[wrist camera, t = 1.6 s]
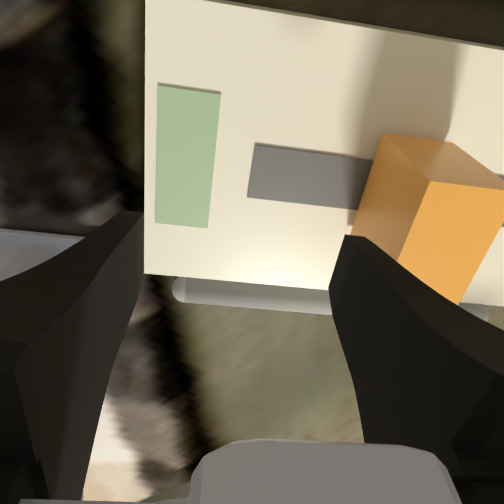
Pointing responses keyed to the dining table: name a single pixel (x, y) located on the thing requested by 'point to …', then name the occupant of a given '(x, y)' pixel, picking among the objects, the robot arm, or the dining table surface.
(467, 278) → the block
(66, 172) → the dining table surface
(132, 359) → the dining table surface
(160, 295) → the dining table surface
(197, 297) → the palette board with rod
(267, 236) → the breaker panel
